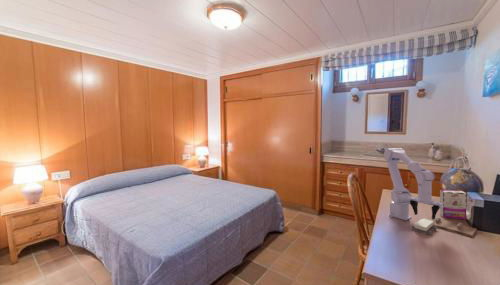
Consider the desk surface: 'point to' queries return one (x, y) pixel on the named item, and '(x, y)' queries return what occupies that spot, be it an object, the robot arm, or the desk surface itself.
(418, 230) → the battens
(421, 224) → the shelf board
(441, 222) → the peg stand
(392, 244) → the desk surface
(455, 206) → the candy bar box
